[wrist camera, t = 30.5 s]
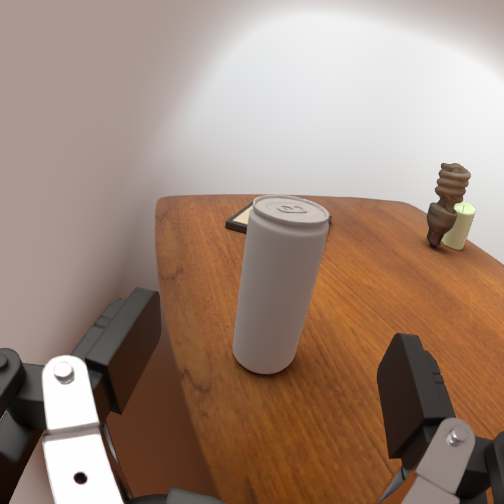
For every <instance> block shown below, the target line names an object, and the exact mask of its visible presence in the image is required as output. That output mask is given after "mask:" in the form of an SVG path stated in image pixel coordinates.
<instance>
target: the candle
mask: <svg viewBox="0 0 504 504" xmlns="http://www.w3.org/2000/svg"><path fill="white" fill-rule="evenodd" d="M454 209H455V210H456V212H457V214H458V216H457V219H456V221H455V224H454V226H453V228H452V229H451V230H450V231H448V232H447V233H446V234H444V236H443V238H442V240H441V242H442V243H443V244H445V245H446V246H448V247H450V248H453V249H456V250H461V249H463V247H464V244H465V241H466V238H467V236H468V233H469V230H470V227H471V224H472V221H473V218H474V215H475V212H476V211H475V208H474V207H473V206H472V205H471V204H469V203H468V202H464V201H462V202H461V203H457V204H455V205H454Z"/></svg>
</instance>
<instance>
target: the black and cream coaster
mask: <svg viewBox="0 0 504 504" xmlns="http://www.w3.org/2000/svg"><path fill="white" fill-rule="evenodd" d="M252 208H253V202H252V203H250V204H249V205H248V206H246V207H245V208H244V209H242V210H241V211H240V212H238V213H237V214H235V215H234V216H233V217H231V218H230V219H229V220H227V221H226V226H225V228H227V229H231V230H235V231H239V232H242V233H246V234H247V226H248V218H249V213H250V210H251V209H252ZM331 218H332V216H329V219H328V224H330V222H331Z"/></svg>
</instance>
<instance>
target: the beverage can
mask: <svg viewBox="0 0 504 504" xmlns="http://www.w3.org/2000/svg"><path fill="white" fill-rule="evenodd" d="M328 219H329V213H328V211H327V210H326V209H325V208H323V207H322V206H320V205H318V204H316V203H314V202H312V201H309V200H306V199H302V198H298V197H294V196H287V195H264V196H260V197H257V198H256V199H254V200H253V208H252V209H251V210H250V213H249V218H248V226H247V234H246V241H245V249H244V257H243V265H242V273H241V281H240V289H239V297H238V305H237V313H236V321H235V329H234V338H233V346H232V350H233V354H234V356H235V358H236V360H237V361H238V362H239V363H240V364H241V365H242V366H243V367H245V368H246V369H248V370H250V371H252V372H255V373H259V374H273V373H276V372H279V371H281V370H283V369H284V368H286V367H287V366H288V365H289V364H290V363H291V362H292V361H293V359H294V356H295V353H296V350H297V347H298V343H299V340H300V336H301V333H302V329H303V326H304V322H305V319H306V315H307V312H308V308H309V304H310V301H311V297H312V293H313V290H314V286H315V282H316V278H317V274H318V271H319V267H320V263H321V259H322V255H323V251H324V247H325V242H326V238H327V234H328V230H329V224H328Z"/></svg>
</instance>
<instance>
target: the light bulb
mask: <svg viewBox="0 0 504 504" xmlns="http://www.w3.org/2000/svg"><path fill="white" fill-rule="evenodd" d="M441 168H442V170H440V172H439V176H440V178H439V179H438V180H437V184H438V187H436V188H435V192H436V194H437V195H439V197H440V200H439V201H438V202H437V203H431V204H430V207H429V210H428V214H427V222H428V226H429V232H428V235H427V239H428V241H429V242H430V245H431V246H432V247H436V246H438V245H440V242H441V240H442V238H443V236H444V234H446V233H447V232H448V231H450V230H451V229H452V228H453V226H454V224H455V221H456V219H457V216H458V214H457V212H456V210H455V209H454V205H455V204H457V203H461V202H462V201H463V195H464V194H465V192H466V190H465V187H467V186H468V180H469V179H470V176H471V174H470V172H469V171H468V170H466V169H465V168H464V167H462V166H461V165H460V164H457V163H453V164H446V163H442V164H441Z"/></svg>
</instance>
